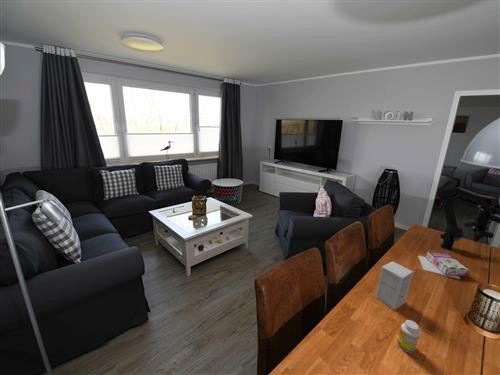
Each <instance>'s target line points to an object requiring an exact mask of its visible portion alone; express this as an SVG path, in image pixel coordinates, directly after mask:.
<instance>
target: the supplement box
mask: <svg viewBox="0 0 500 375" xmlns="http://www.w3.org/2000/svg"><path fill="white" fill-rule="evenodd" d="M413 275H414V271H413V270H410V269H408V268H407V267H404V266H403V265H401V264H399V263H397V262H395V261H390V262H388V263H386V264H384V265H383V266H382V265H381V269H380V273H379V276H378V281H377V287H376V290H375V294H374V295H375V296H374V297H375V298H376V299H378V301H380V302H382V303H383V304H385V305H387V306H388V307H390V308H391V309H392V310H394V311H396V310H397V309H399V308H400V307H401V306H403V305H404V304H405V303H406V301H407V298H408V294H409V289H410V285H411V281H412V278H413Z"/></svg>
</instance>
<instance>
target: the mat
mask: <svg viewBox="0 0 500 375" xmlns="http://www.w3.org/2000/svg"><path fill="white" fill-rule="evenodd" d="M417 257H418V259H419V261H420V264H421V266H422V269H423V270H424V271H426V272H428V273H429V272H430V273H433V274H438V275H441V276H445V277H450V278H453V279H457V280H461V277H460V276H455V275H445V274H444V273H443V272H441V271H440V270H439V269H438V268H437V267H436V266H435V265H433V264H432V263H431V262H430V261H429V260H428V259H427V258H426V256H422V255H418V256H417Z"/></svg>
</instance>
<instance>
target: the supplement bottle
mask: <svg viewBox="0 0 500 375" xmlns="http://www.w3.org/2000/svg"><path fill="white" fill-rule="evenodd" d="M400 325H401V326H400V328H399V333H398V336H397V341H396V342H397V346H399V348H400V349H401V350H403V351H404V352H406V353H411V354H412V353H414V352H415V351H416V348H417V345H418V341H419V339H420V334H421V332H420V330H419V329H420V328H419V327H420V326H419V325H418V323H416V322H415V321H414V320H411V319H406V320H405V322H404V323H402V324H400Z"/></svg>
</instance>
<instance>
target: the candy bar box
mask: <svg viewBox="0 0 500 375" xmlns="http://www.w3.org/2000/svg"><path fill="white" fill-rule="evenodd" d="M425 257H426V258H427V259H428V260H429V261H430V262H431V263H432V264H433V265H435V266H436V267H437V268H438V269H439V270H440V271H441V272H443V273H444V274H445V275H455V276H459V277H467V274H468V272H469V268H467V267H466V266H465V265H463V263H461V262H459V261H458V260H457V259H455V258H454V257H452V256H451V255H450V254H448V253H447V252H441V251H440V252H438V251H428V250H427V253H426V256H425ZM445 275H444V276H445Z"/></svg>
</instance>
